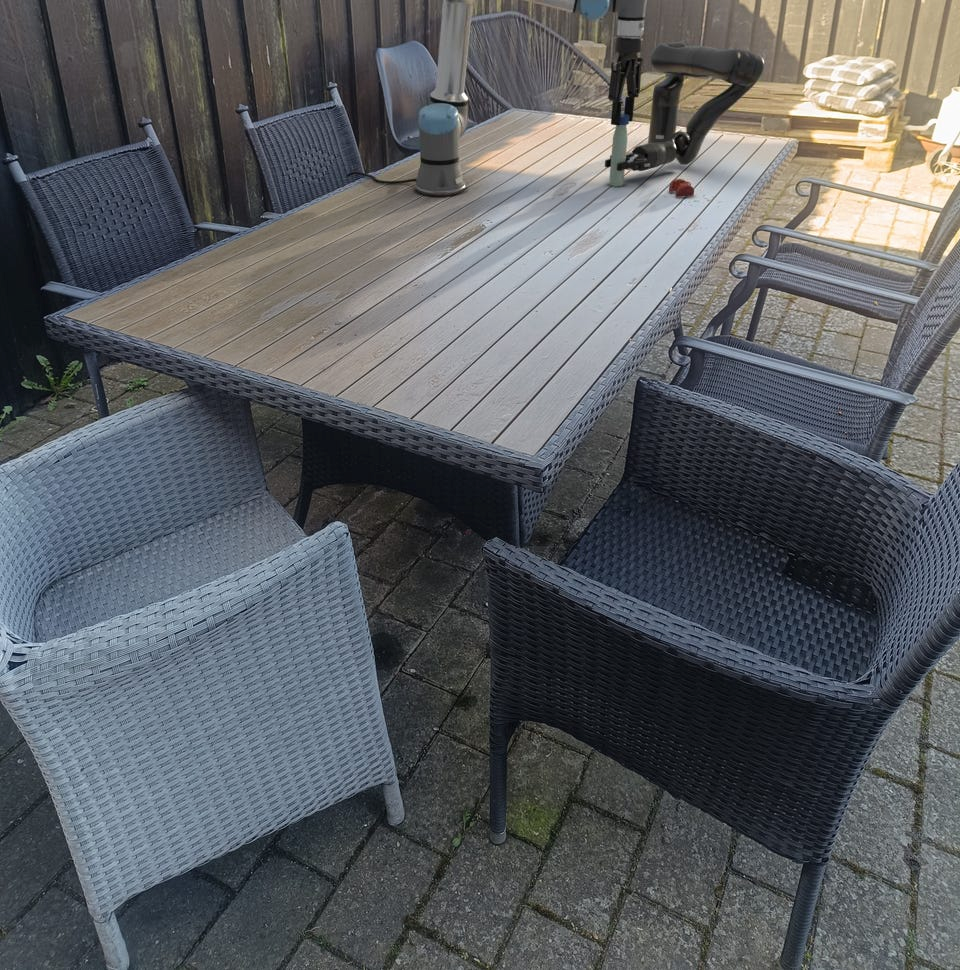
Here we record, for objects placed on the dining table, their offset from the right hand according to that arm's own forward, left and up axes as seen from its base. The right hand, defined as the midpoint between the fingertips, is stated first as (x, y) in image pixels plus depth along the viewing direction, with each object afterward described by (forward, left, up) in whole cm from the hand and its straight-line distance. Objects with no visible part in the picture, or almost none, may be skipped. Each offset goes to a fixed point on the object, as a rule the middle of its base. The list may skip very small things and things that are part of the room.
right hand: (611, 165), depth 258 cm
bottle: (-3, +1, -6) cm, 7 cm away
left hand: (-2, +1, +12) cm, 12 cm away
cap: (-2, +1, +14) cm, 14 cm away
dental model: (-1, +22, -6) cm, 23 cm away
